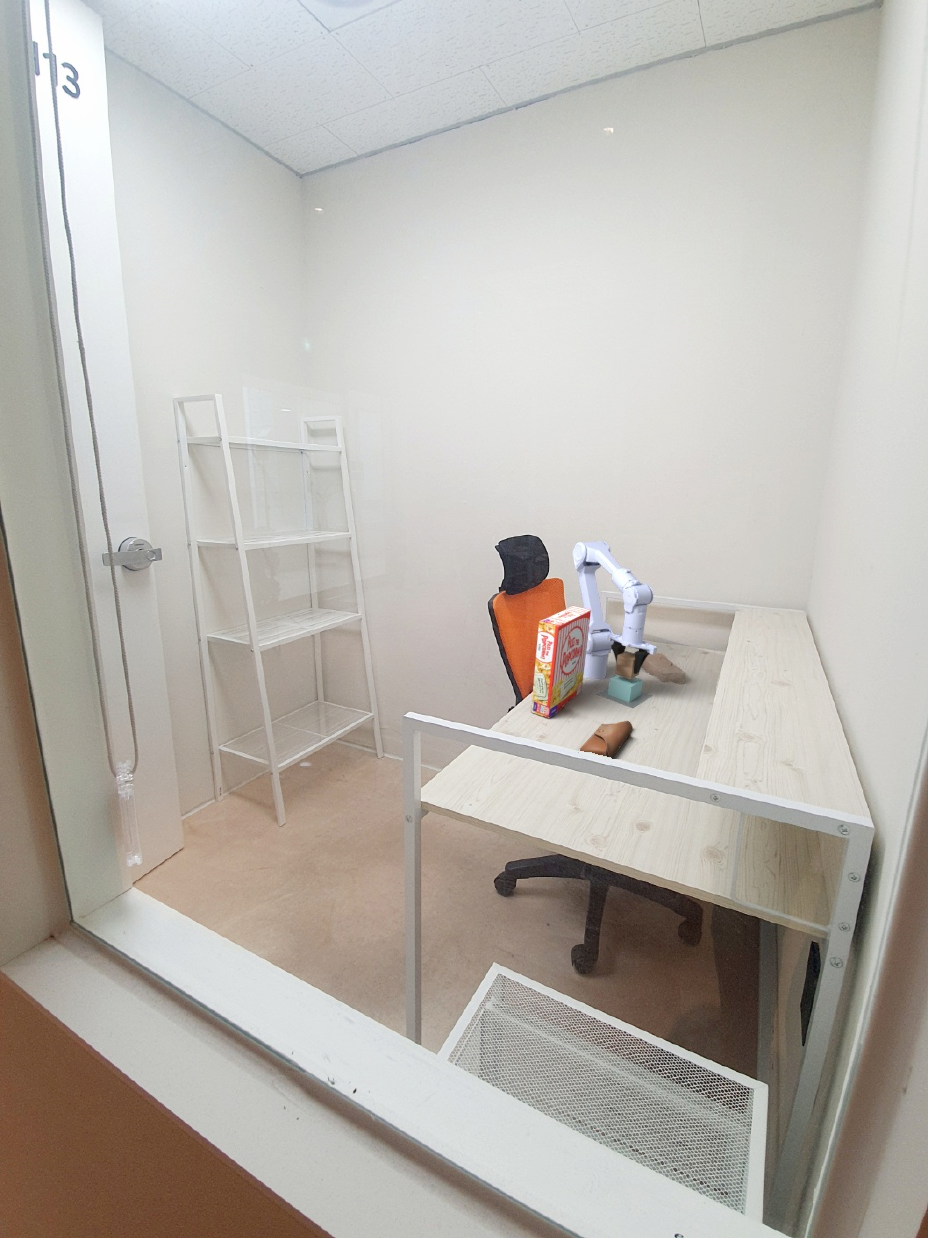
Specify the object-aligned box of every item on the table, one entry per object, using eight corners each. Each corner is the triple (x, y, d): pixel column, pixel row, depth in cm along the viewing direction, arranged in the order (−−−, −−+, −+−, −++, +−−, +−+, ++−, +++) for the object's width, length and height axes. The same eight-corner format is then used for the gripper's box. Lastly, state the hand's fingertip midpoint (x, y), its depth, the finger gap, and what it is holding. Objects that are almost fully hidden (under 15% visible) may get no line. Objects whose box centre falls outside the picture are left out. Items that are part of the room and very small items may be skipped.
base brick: (607, 694, 159) (609, 679, 157) (619, 687, 164) (621, 672, 162) (629, 702, 154) (631, 686, 153) (640, 695, 159) (643, 679, 158)
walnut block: (615, 674, 157) (617, 655, 155) (623, 669, 160) (626, 650, 158) (630, 679, 154) (633, 660, 152) (639, 674, 157) (641, 655, 155)
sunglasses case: (601, 722, 144) (615, 707, 141) (621, 741, 142) (637, 726, 139) (575, 752, 130) (591, 736, 127) (598, 773, 128) (614, 757, 125)
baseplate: (595, 697, 159) (596, 694, 159) (616, 685, 167) (616, 682, 167) (632, 711, 151) (632, 708, 151) (652, 698, 159) (652, 695, 159)
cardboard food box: (549, 719, 145) (558, 626, 137) (529, 712, 149) (536, 621, 140) (582, 694, 161) (591, 608, 152) (563, 688, 165) (571, 604, 156)
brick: (685, 684, 170) (687, 671, 169) (661, 686, 169) (663, 672, 167) (659, 664, 186) (661, 652, 184) (636, 665, 184) (638, 653, 183)
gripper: (604, 622, 154) (598, 665, 159) (651, 636, 145) (644, 681, 149) (616, 617, 159) (611, 659, 163) (662, 630, 149) (655, 674, 154)
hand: (627, 669), depth 157 cm, fingers closed on walnut block, 5 cm apart
